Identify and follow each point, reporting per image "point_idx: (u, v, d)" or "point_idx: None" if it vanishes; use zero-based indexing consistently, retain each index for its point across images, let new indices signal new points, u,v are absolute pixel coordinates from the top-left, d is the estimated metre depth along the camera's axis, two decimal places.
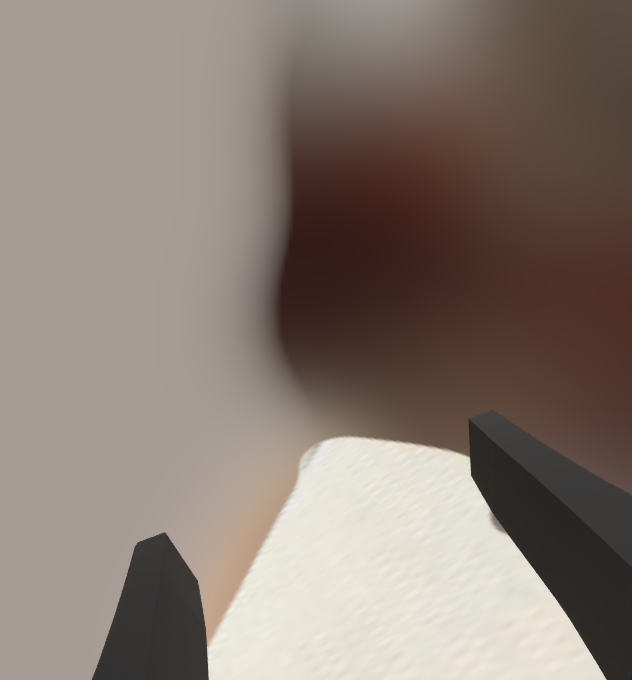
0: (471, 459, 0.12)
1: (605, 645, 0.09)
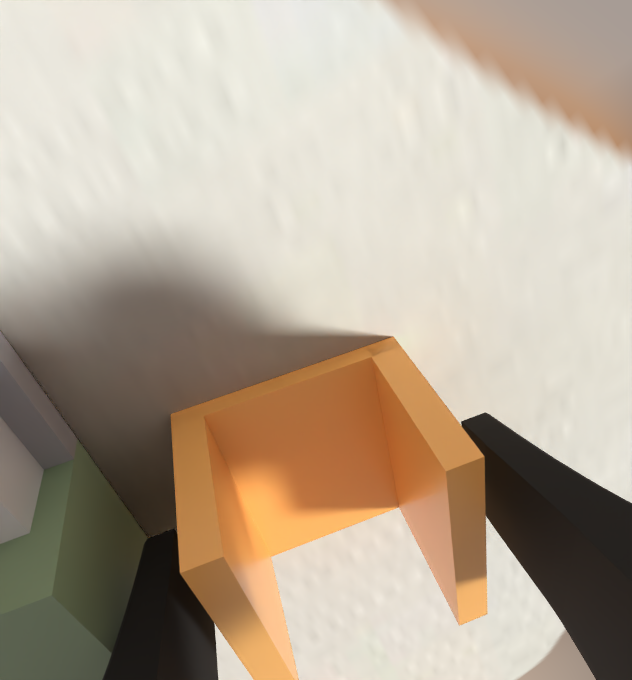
0: None
1: (596, 649, 0.09)
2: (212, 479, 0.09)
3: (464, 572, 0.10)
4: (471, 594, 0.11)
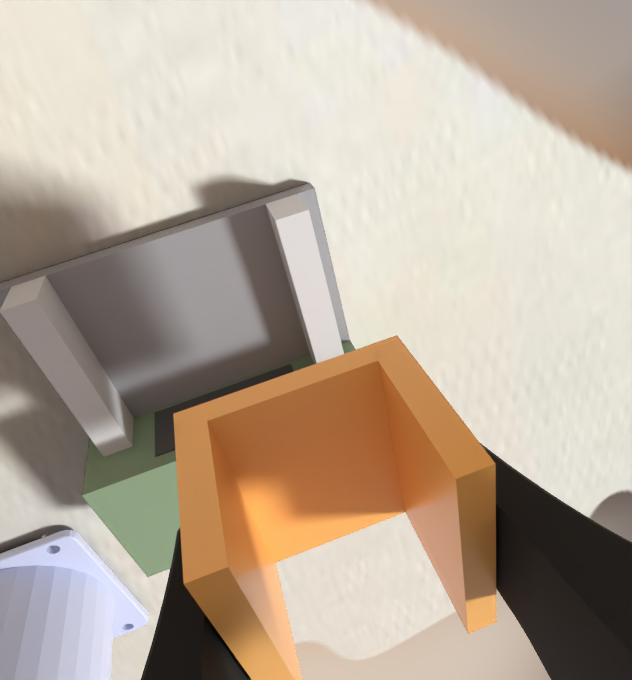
0: None
1: (558, 666, 0.09)
2: (216, 486, 0.09)
3: (474, 580, 0.10)
4: (481, 602, 0.11)
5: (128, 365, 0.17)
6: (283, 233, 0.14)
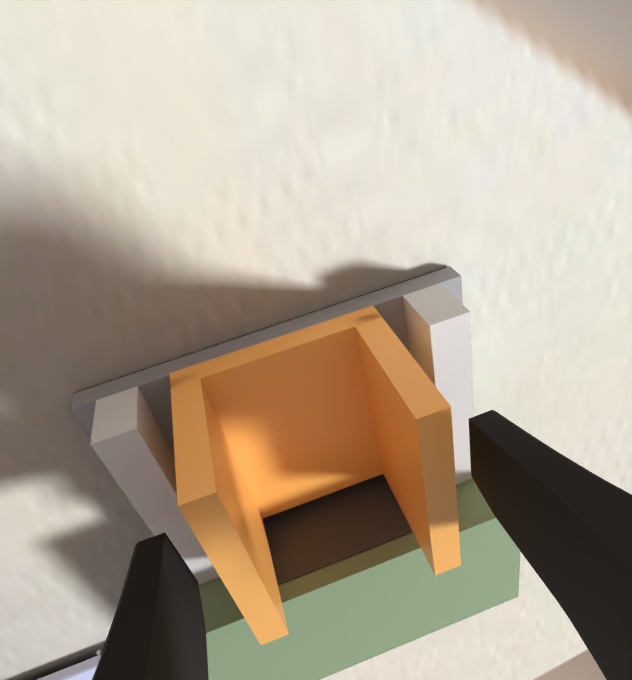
0: (471, 459, 0.12)
1: (605, 645, 0.09)
2: (207, 430, 0.10)
3: (438, 521, 0.11)
4: (445, 544, 0.12)
5: None
6: (436, 339, 0.12)
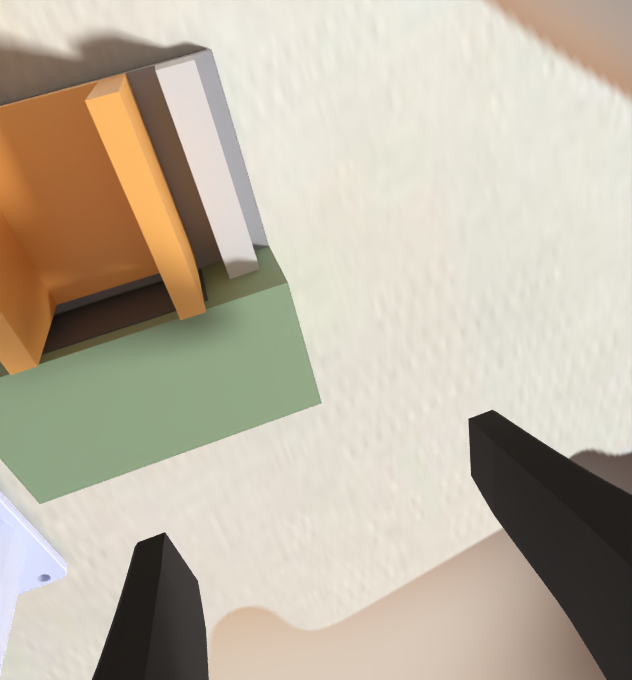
0: (471, 459, 0.12)
1: (605, 645, 0.09)
2: None
3: (157, 245, 0.12)
4: (177, 279, 0.13)
5: None
6: (167, 88, 0.13)
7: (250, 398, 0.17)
